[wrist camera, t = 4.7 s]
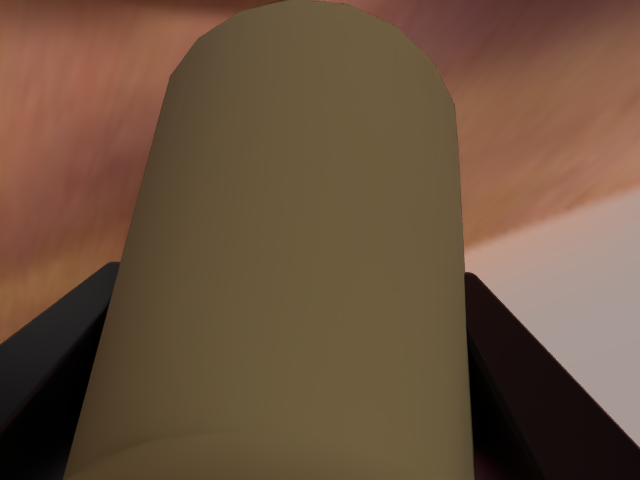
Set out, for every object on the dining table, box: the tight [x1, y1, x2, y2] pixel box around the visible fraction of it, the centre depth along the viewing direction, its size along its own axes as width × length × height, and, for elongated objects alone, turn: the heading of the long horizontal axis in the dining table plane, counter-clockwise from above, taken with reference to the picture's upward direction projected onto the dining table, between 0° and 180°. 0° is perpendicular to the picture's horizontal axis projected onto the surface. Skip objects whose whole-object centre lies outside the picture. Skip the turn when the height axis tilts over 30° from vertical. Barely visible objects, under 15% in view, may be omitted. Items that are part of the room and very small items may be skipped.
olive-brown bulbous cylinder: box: [63, 0, 476, 480], centre depth 7 cm, size 6×6×11 cm
